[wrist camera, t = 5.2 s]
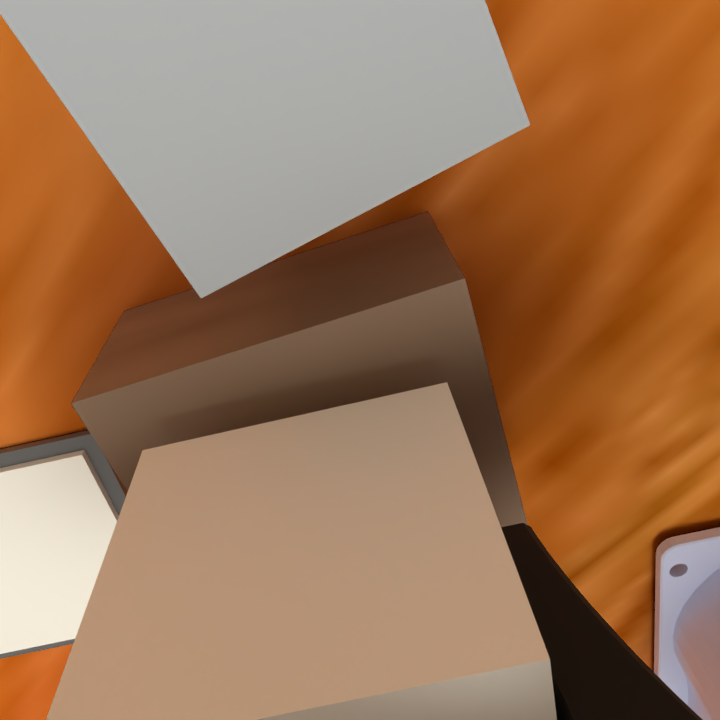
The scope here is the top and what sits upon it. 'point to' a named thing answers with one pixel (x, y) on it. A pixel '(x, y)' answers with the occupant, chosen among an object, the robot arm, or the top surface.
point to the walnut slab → (301, 351)
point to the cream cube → (311, 580)
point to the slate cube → (270, 109)
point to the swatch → (52, 537)
